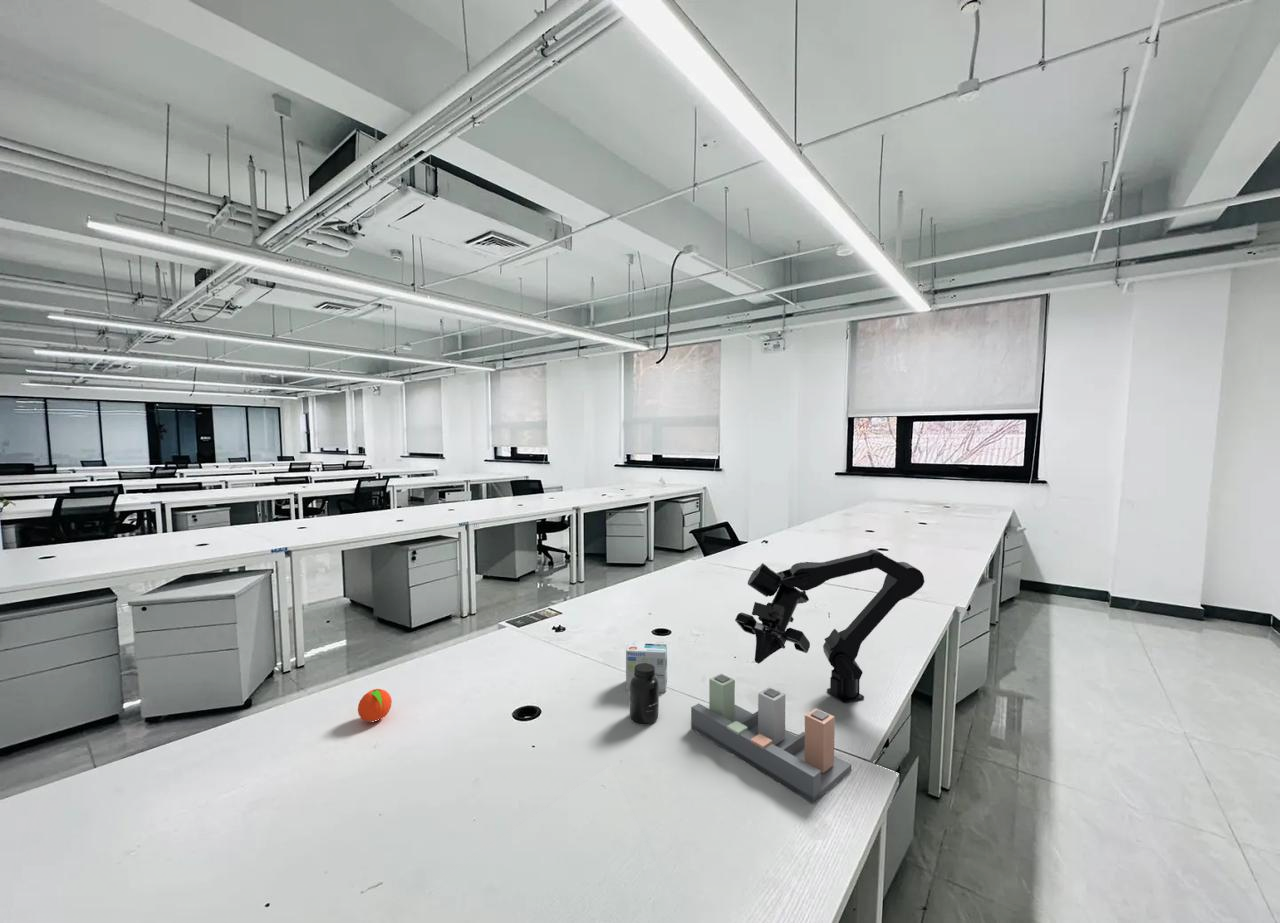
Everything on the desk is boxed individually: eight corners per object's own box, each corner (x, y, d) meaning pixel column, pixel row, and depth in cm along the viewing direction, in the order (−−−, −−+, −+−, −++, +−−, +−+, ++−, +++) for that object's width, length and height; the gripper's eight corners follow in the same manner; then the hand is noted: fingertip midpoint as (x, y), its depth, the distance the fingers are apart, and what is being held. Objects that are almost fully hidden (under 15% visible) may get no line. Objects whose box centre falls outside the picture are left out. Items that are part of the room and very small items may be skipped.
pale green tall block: (720, 713, 112) (721, 672, 112) (734, 721, 109) (734, 678, 109) (709, 720, 110) (709, 677, 109) (722, 727, 107) (723, 684, 106)
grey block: (769, 729, 106) (769, 685, 106) (785, 738, 103) (785, 693, 103) (758, 736, 103) (758, 691, 103) (773, 745, 100) (774, 699, 100)
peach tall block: (815, 754, 98) (815, 706, 97) (834, 764, 94) (834, 715, 94) (804, 762, 95) (804, 713, 95) (823, 773, 92) (823, 722, 92)
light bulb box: (667, 680, 132) (667, 641, 131) (666, 693, 125) (666, 652, 124) (628, 678, 133) (628, 640, 132) (625, 691, 126) (625, 650, 126)
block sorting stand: (731, 707, 118) (731, 685, 118) (851, 770, 95) (851, 743, 95) (690, 729, 109) (690, 705, 109) (812, 804, 86) (812, 774, 86)
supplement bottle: (656, 727, 109) (656, 675, 109) (626, 724, 111) (626, 672, 110) (660, 711, 116) (660, 662, 116) (633, 708, 118) (633, 659, 117)
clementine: (398, 721, 112) (398, 691, 112) (365, 734, 107) (365, 702, 107) (385, 708, 117) (385, 679, 117) (353, 720, 112) (353, 690, 112)
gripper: (739, 581, 127) (711, 634, 120) (803, 598, 113) (776, 658, 106) (757, 604, 132) (731, 656, 126) (821, 623, 118) (796, 682, 111)
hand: (756, 662), depth 117 cm, fingers closed
